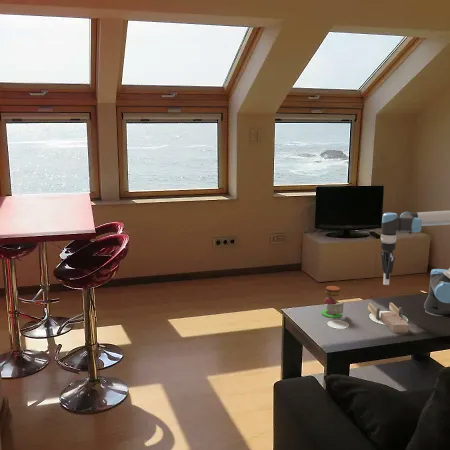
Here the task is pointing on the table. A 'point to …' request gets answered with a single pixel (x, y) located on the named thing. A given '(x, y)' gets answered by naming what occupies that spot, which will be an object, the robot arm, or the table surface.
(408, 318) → the table surface
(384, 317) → the brick
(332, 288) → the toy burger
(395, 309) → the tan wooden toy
